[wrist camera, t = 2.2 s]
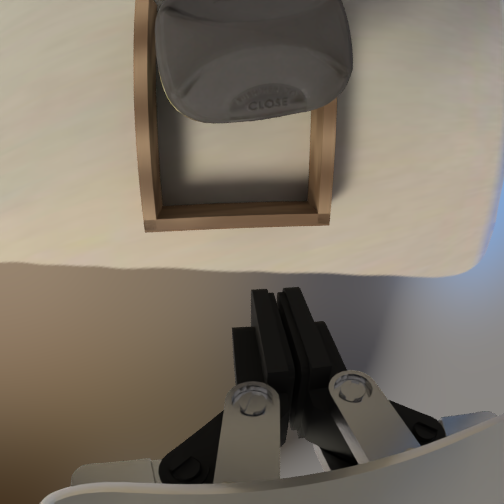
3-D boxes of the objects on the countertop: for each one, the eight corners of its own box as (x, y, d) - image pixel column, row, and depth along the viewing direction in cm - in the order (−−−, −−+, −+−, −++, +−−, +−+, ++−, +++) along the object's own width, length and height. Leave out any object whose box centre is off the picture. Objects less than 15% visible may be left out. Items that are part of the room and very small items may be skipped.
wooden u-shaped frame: (145, 7, 23) (135, -5, 19) (322, 7, 24) (336, -4, 21) (152, 217, 33) (145, 232, 29) (317, 211, 34) (329, 225, 31)
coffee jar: (191, 122, 29) (155, 146, 12) (177, 47, 25) (127, -22, 9) (290, 106, 29) (380, 113, 12) (278, 31, 26) (351, -44, 9)
